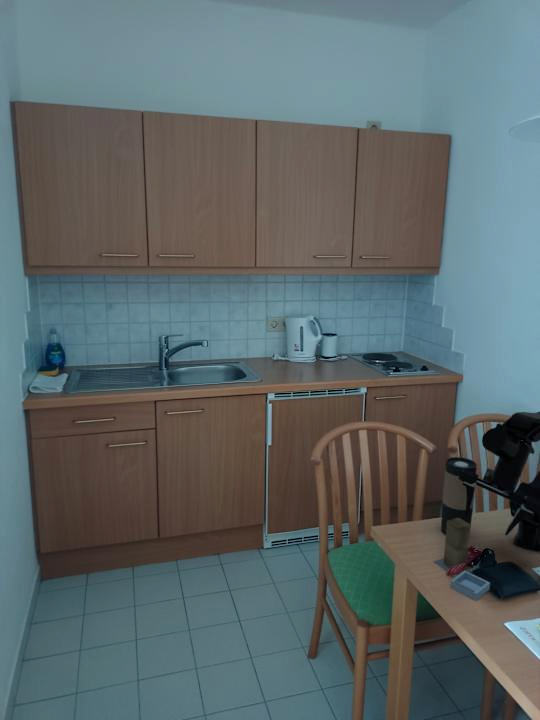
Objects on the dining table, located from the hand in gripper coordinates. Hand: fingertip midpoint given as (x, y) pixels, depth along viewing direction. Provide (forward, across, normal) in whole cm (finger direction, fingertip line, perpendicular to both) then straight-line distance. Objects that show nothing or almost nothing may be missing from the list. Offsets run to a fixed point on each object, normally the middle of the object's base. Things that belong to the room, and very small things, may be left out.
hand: (485, 525), depth 123 cm
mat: (+12, +3, -1) cm, 12 cm away
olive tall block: (+12, +3, -1) cm, 12 cm away
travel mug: (+6, +5, -16) cm, 18 cm away
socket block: (+14, -2, +6) cm, 15 cm away
